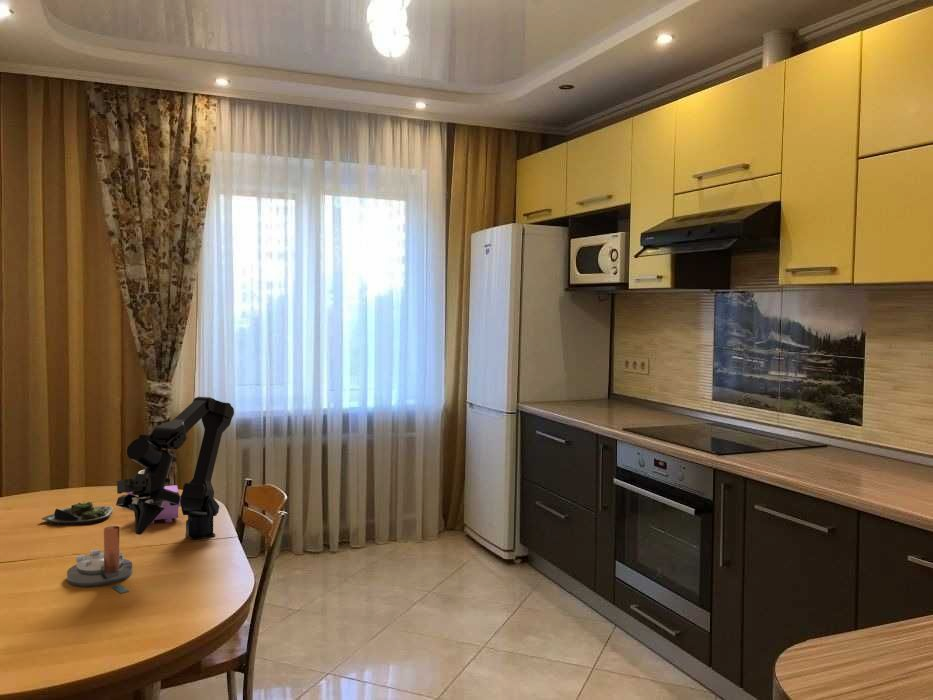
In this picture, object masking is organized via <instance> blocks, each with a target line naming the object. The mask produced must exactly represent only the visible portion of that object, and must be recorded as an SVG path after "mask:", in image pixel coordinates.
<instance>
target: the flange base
mask: <svg viewBox="0 0 933 700" xmlns="http://www.w3.org/2000/svg"><path fill="white" fill-rule="evenodd" d="M132 574H133V563H132V561H131V560H129V559H126V558H123V566H122V567H121V568H119V576H117V577H112V578H106V577H105V576H104V575H103V574H82V573H79V572H78V571H77V563H76V564H75V565H72V566H71V567H69V568H68V569H67V571H66V583H67V584H69V585H71V586H73V587H79V588H98V587H105V586H110V585H113V586H111V588H112V589H113V590H115V591H116V592H118V593H120V594H124V593H129V592H130V590H129V589H128V588H125V587H124V586H123V585H121V584H118V585H114V584H117V583H120V582H122V581H125V580H126V579H128V578H130V577H131V575H132Z"/></svg>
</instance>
